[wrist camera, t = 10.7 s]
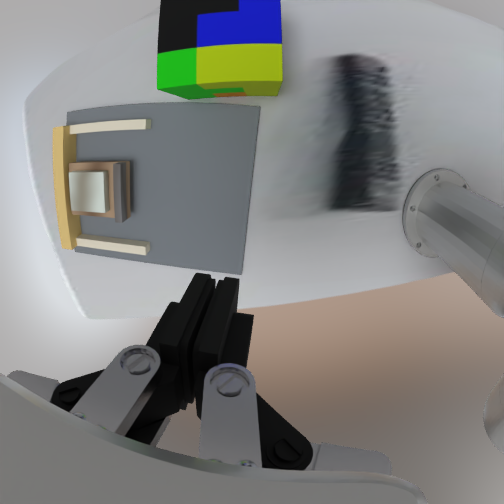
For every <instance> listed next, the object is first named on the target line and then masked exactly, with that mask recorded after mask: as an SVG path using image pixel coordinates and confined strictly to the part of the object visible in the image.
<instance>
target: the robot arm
mask: <svg viewBox="0 0 504 504" xmlns="http://www.w3.org/2000/svg"><path fill="white" fill-rule="evenodd" d="M403 226H404V231H405V235H406V237H407V240H408V241H409V243H410V244H411V246H412V247H413V248H414V249H415V250H416V251H417V252H419V253H420V254H422V255H424V256H426V257H440V258H441V259H442V260H443V261H444V262H445V263H446V264H447V265H448V266H449V267H451V268H452V269H453V270H454V271H455V272H456V273H457V274H458V275H459V276H460V277H461V278H462V279H463V280H464V281H465V282H466V283H467V284H468V286H470V288H471V289H472V290H473V291H474V292H475V293H476V294H477V295H478V296H479V297H480V298H481V299H482V300H483V301H484V303H486V305H488V307H489V308H490V309H491V310H492V311H493V312H494V313H496V314H497V315H498V316H500V317H502V318H504V207H502V206H500V205H498V204H496V203H494V202H492V201H490V200H488V199H486V198H484V197H482V196H480V195H478V194H476V193H474V192H471V190H470V188H469V186H468V184H467V183H466V181H465V180H464V179H463V178H462V177H461V176H460V175H459V174H457V173H455V172H453V171H450V170H447V169H437V170H433V171H430V172H428V173H426V174H425V175H424V176H422V177H421V178H420V179H419V180H418V181H417V182H416V183H415V185H414V186H413V188H412V189H411V191H410V193H409V195H408V197H407V200H406V203H405V207H404V213H403ZM215 283H216V281H215V279H211V275H209V274H203V273H196V274H195V275H194V277H193V279H192V281H191V283H190V284H189V286H188V288H187V290H186V292H185V294H184V295H183V297H182V299H181V301H180V303H177V302H170V304H169V305H168V307H167V309H166V310H165V312H164V314H163V315H162V317H161V319H160V321H159V323H158V324H157V326H156V328H155V329H154V331H153V333H152V335H151V337H150V339H149V340H148V342H147V344H146V345H133V346H129V347H127V348H125V349H123V350H122V351H121V352H120V353H119V354H118V355H117V356H116V357H115V358H114V359H113V361H112V362H111V363H110V364H109V365H108V367H107V368H106V369H103V370H100V371H97V372H94V373H91V374H87V375H84V376H81V377H78V378H74V379H71V380H67V381H65V382H62V383H61V384H60V383H59V382H58V380H54V379H50V378H46V377H42V376H38V375H34V374H30V373H27V372H24V371H18V370H17V371H13V372H11V373H10V374H9V375H8V376H5V375H3V374H1V373H0V504H428V503H427V500H426V498H425V496H424V494H423V492H422V491H421V490H420V488H419V487H418V486H416V485H415V484H413V483H411V482H409V481H407V480H404V479H402V478H398V477H394V476H391V471H392V466H391V461H390V460H389V458H388V457H387V456H386V455H385V454H383V453H381V452H378V451H372V450H364V449H357V448H350V447H344V446H338V445H333V444H328V443H323V442H322V443H321V444H316V443H311V442H309V441H308V440H307V439H306V437H304V436H303V435H302V434H301V433H300V432H299V431H297V430H296V429H295V428H294V427H292V425H291V424H290V423H288V422H287V421H286V420H285V419H284V418H283V417H282V416H281V415H280V414H278V413H277V412H276V411H275V410H274V409H273V408H272V407H271V406H270V405H269V404H268V403H267V402H266V401H265V400H263V398H261V397H260V396H259V395H258V394H257V393H256V386H255V380H254V377H253V375H252V374H251V372H250V371H249V370H247V369H246V366H247V360H248V353H249V347H250V340H251V333H252V326H253V317H254V315H251V314H244V313H237V303H238V292H239V279H237V278H230V277H225V278H224V280H219V281H218V284H217V286H216V289H215ZM194 398H195V399H196V409H197V416H198V417H199V418H200V420H201V428H200V443H199V458H195V457H191V456H187V455H183V454H179V453H175V452H171V451H167V450H163V449H160V448H156V445H157V444H158V442H159V440H160V438H161V436H162V435H163V433H164V431H165V429H166V427H167V425H168V424H169V422H170V420H171V417H172V414H174V413H177V412H179V410H180V409H182V410H186V407H187V404H188V403H191V404H192V403H193V402H194ZM483 420H484V427H485V430H486V433H487V435H488V437H489V439H490V440H491V442H492V443H493V444H494V446H495V447H496V448H497V449H498V450H499V451H501V452H502V453H503V454H504V374H503V375H502V376H501V378H500V379H499V380H498V382H497V383H496V385H495V386H494V388H493V389H492V391H491V392H490V394H489V396H488V398H487V401H486V403H485V407H484V413H483Z"/></svg>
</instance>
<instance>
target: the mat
mask: <svg viewBox="0 0 504 504" xmlns="http://www.w3.org/2000/svg"><path fill="white" fill-rule="evenodd" d="M259 112H260V107H257V106H246V105H234V104H217V103H146V104H130V105H118V106H108V107H99V108H92V109H85V110H78V111H72V112H67V125H66V126H61V127H55V128H53V175H54V190H55V201H56V210H57V218H58V226H59V232H60V239H61V244H62V248H64V249H70V250H72V249H74V248H75V252H79V253H86V254H92V255H98V256H105V257H111V258H118V259H125V260H132V261H139V262H146V263H153V264H160V265H167V266H175V267H182V268H190V269H198V270H206V271H213V272H222V273H230V274H238V275H242V266H243V256H244V247H245V237H246V228H247V219H248V210H249V200H250V191H251V182H252V173H253V164H254V156H255V147H256V138H257V129H258V121H259ZM87 161H130V212H131V217H129V218H128V219H127V220H126V221H124V222H123V223H116V222H115V218H109V217H97V216H85V215H73V214H72V211H71V200H70V187H69V163H72V162H87Z"/></svg>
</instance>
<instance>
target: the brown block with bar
mask: <svg viewBox="0 0 504 504" xmlns="http://www.w3.org/2000/svg"><path fill="white" fill-rule="evenodd" d="M69 187H70V200H71V211H72V214H73V215H85V216H97V217H109V218H115V222H116V223H123V222H124V221H126V220H127V219H128V218H129V217H131V212H130V161H87V162H72V163H69Z"/></svg>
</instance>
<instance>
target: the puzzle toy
mask: <svg viewBox="0 0 504 504" xmlns="http://www.w3.org/2000/svg"><path fill="white" fill-rule="evenodd" d="M282 82H283V71H282V30H281V3H280V0H161V5H160V17H159V32H158V56H157V89H158V90H161V91H164V92H167V93H170V94H173V95H176V96H179V97H182V98H185V99H188V100H190V99H200V98H213V97H231V96H277V95H278V92H279V89H280V87H281V84H282Z"/></svg>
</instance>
